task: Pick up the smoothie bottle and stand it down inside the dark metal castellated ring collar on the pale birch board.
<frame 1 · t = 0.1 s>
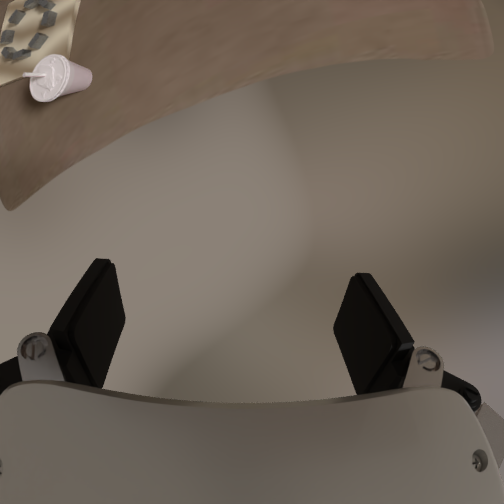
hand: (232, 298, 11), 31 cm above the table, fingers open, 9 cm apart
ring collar: (31, 28, 21), resting on socket plate
socket plate: (35, 29, 22), on the table
smoothie: (82, 79, 29), on the table
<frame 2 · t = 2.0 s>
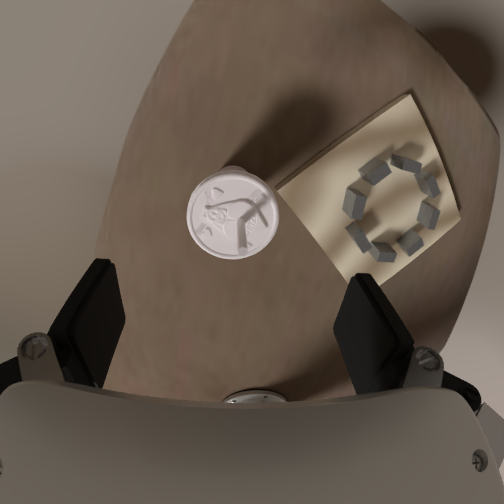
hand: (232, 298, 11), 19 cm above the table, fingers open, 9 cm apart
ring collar: (389, 205, 28), resting on socket plate
socket plate: (383, 201, 29), on the table
smoothie: (232, 182, 27), on the table
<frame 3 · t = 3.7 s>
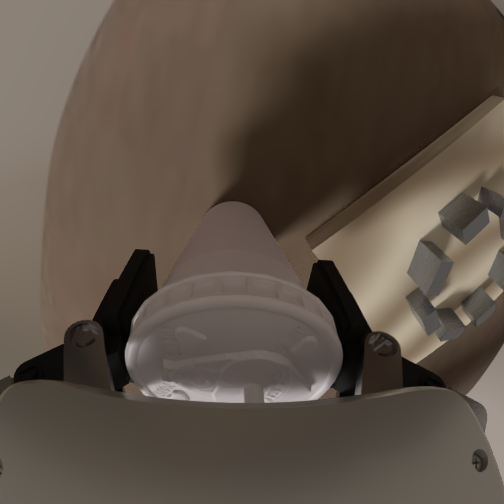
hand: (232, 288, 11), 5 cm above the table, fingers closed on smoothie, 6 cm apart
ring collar: (465, 260, 16), resting on socket plate
socket plate: (454, 250, 17), on the table
smoothie: (232, 230, 16), on the table, touching gripper
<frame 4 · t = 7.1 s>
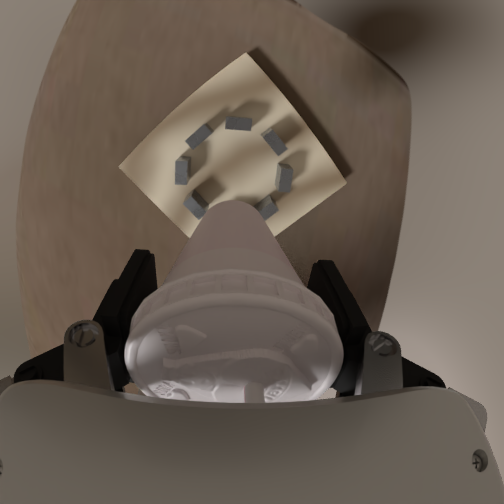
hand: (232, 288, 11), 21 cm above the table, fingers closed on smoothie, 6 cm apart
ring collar: (233, 170, 28), resting on socket plate
socket plate: (233, 167, 30), on the table
smoothie: (232, 229, 16), point 16 cm above the table, touching gripper
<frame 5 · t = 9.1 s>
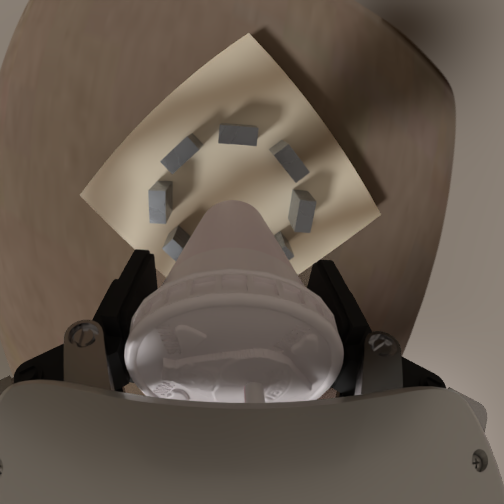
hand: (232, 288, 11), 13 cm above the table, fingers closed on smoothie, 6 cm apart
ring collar: (231, 199, 21), resting on socket plate
socket plate: (231, 193, 22), on the table
smoothie: (232, 229, 16), point 7 cm above the table, touching gripper
when the fingers open (7 cm above the table, at t = 10.9 s): smoothie stays where it is, resting on socket plate.
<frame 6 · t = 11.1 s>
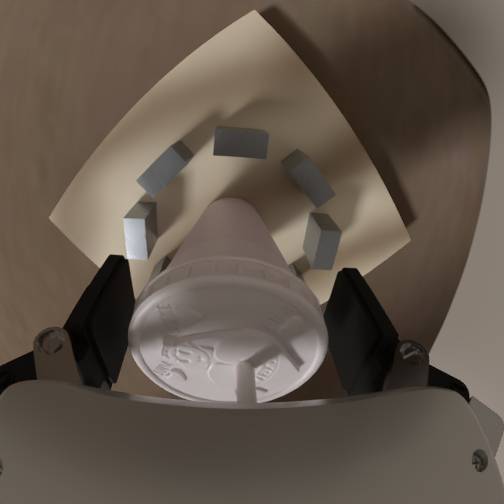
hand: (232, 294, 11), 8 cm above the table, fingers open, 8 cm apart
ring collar: (232, 225, 16), resting on socket plate
socket plate: (232, 215, 18), on the table
smoothie: (230, 225, 17), point 1 cm above the table, touching socket plate
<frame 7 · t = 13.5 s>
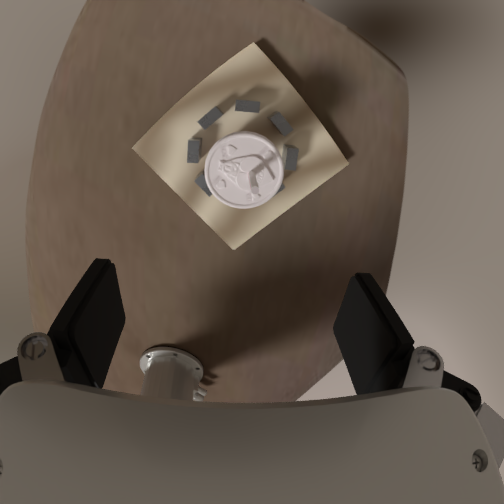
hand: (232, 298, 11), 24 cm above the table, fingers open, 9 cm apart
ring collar: (242, 150, 30), resting on socket plate
socket plate: (241, 148, 31), on the table
smoothie: (241, 151, 30), point 1 cm above the table, touching socket plate
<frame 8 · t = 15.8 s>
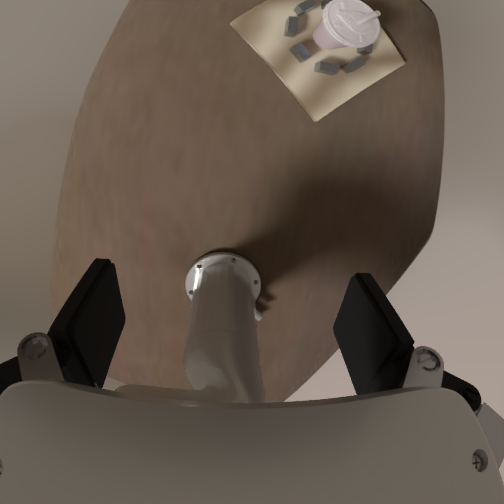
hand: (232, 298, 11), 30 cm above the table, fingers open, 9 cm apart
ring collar: (326, 37, 27), resting on socket plate
socket plate: (323, 39, 29), on the table
smoothie: (325, 38, 28), point 1 cm above the table, touching socket plate
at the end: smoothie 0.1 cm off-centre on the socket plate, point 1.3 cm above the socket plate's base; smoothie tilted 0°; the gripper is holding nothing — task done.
